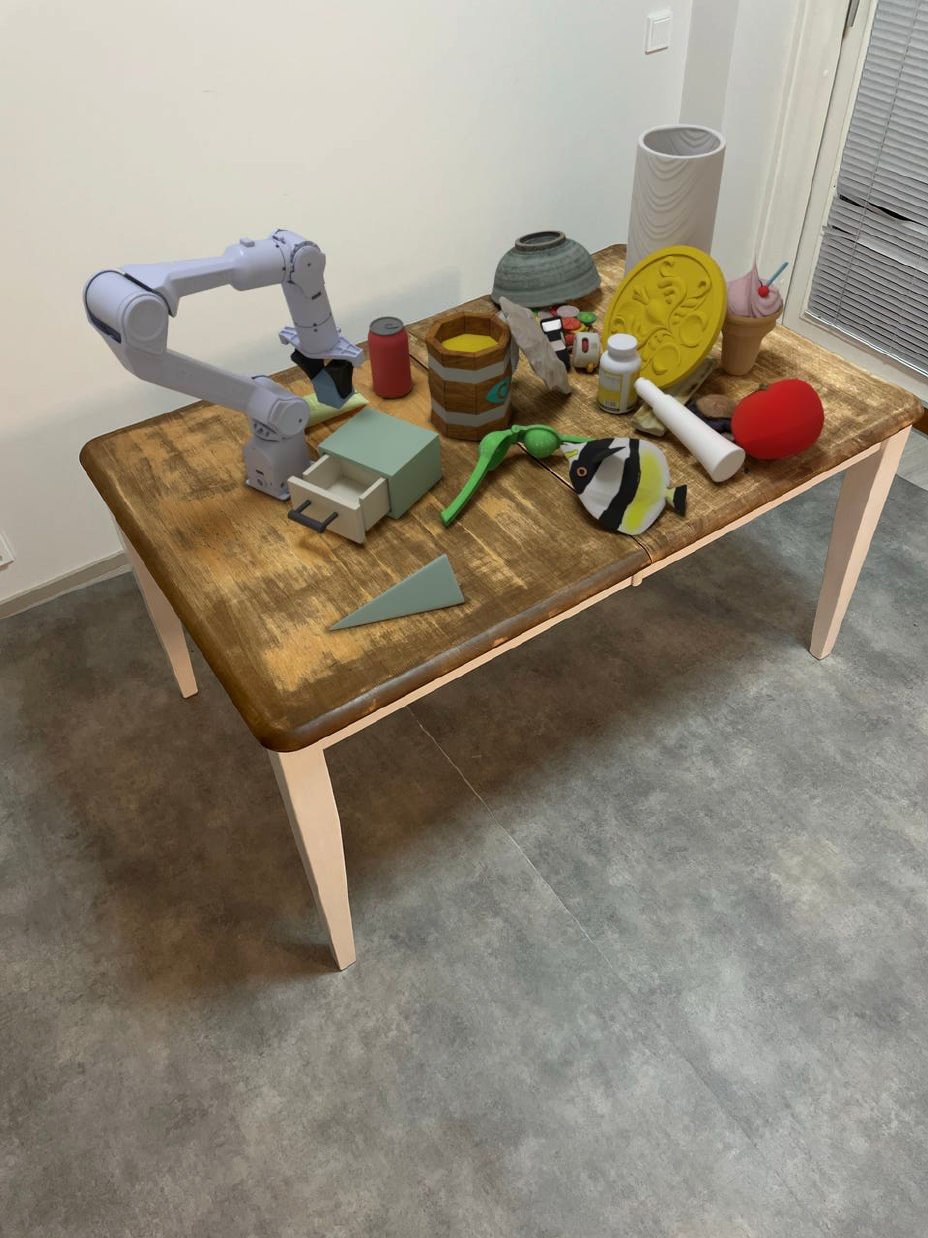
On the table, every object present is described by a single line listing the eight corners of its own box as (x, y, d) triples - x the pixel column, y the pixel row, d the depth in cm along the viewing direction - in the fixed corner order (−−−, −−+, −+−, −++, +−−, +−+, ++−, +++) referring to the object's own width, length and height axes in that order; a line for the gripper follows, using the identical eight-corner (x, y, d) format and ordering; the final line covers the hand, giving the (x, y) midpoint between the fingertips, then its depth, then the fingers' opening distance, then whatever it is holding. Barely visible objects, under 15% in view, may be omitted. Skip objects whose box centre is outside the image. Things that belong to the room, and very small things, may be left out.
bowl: (511, 220, 189) (518, 271, 195) (464, 258, 175) (473, 312, 181) (612, 216, 180) (617, 270, 186) (571, 255, 166) (577, 312, 172)
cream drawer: (341, 561, 135) (335, 527, 130) (275, 530, 140) (267, 496, 135) (404, 502, 143) (401, 468, 138) (339, 475, 148) (333, 441, 143)
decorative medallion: (648, 420, 158) (640, 417, 157) (585, 332, 170) (577, 328, 169) (754, 305, 146) (747, 301, 144) (678, 219, 158) (671, 214, 157)
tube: (260, 453, 156) (361, 412, 164) (267, 443, 151) (371, 401, 160) (243, 421, 155) (346, 382, 164) (250, 410, 151) (355, 370, 159)
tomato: (848, 441, 140) (826, 364, 137) (758, 476, 140) (734, 401, 138) (814, 436, 152) (793, 365, 149) (731, 468, 152) (709, 399, 150)
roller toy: (595, 355, 170) (600, 325, 166) (600, 375, 165) (605, 344, 161) (570, 355, 170) (574, 324, 165) (574, 374, 165) (578, 344, 161)
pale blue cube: (339, 409, 147) (332, 387, 144) (318, 402, 149) (311, 380, 146) (355, 392, 149) (349, 370, 146) (334, 385, 151) (327, 364, 147)
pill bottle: (637, 393, 161) (644, 331, 153) (635, 416, 157) (643, 353, 148) (597, 391, 162) (602, 328, 153) (595, 414, 158) (600, 351, 149)
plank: (685, 361, 167) (687, 347, 165) (717, 370, 165) (720, 356, 163) (628, 432, 154) (629, 418, 152) (662, 443, 152) (664, 429, 150)
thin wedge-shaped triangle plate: (353, 665, 122) (471, 593, 125) (327, 623, 123) (444, 552, 126) (354, 673, 130) (465, 605, 133) (329, 633, 131) (440, 566, 134)
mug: (480, 451, 152) (477, 367, 141) (413, 422, 157) (406, 340, 147) (550, 392, 162) (553, 309, 151) (485, 367, 168) (483, 286, 157)
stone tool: (590, 414, 159) (519, 330, 139) (568, 424, 160) (495, 343, 140) (576, 358, 164) (506, 269, 144) (555, 368, 166) (483, 282, 145)
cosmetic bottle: (743, 441, 140) (650, 359, 151) (710, 467, 140) (620, 383, 152) (747, 464, 145) (657, 382, 156) (715, 489, 145) (627, 405, 157)
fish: (576, 400, 134) (559, 498, 130) (709, 434, 136) (697, 532, 132) (554, 438, 146) (538, 529, 142) (677, 468, 148) (664, 559, 144)
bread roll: (673, 421, 155) (675, 401, 153) (700, 396, 160) (703, 377, 157) (732, 445, 150) (736, 425, 148) (759, 419, 155) (763, 399, 152)
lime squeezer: (446, 528, 140) (443, 494, 135) (413, 482, 147) (410, 448, 142) (645, 461, 148) (649, 427, 144) (605, 421, 156) (608, 387, 151)
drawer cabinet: (396, 519, 141) (391, 476, 136) (325, 488, 147) (317, 445, 141) (442, 477, 148) (439, 433, 142) (371, 448, 153) (366, 405, 147)
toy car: (572, 371, 166) (571, 364, 164) (549, 376, 167) (548, 369, 164) (562, 320, 169) (561, 311, 166) (539, 324, 169) (538, 317, 167)
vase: (657, 292, 183) (678, 115, 160) (716, 321, 175) (747, 139, 152) (603, 319, 177) (617, 139, 154) (662, 350, 169) (685, 166, 146)
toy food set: (505, 340, 174) (504, 323, 171) (544, 308, 181) (544, 291, 178) (568, 362, 168) (569, 345, 166) (607, 328, 175) (608, 311, 173)
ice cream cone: (767, 352, 168) (791, 240, 153) (770, 388, 161) (796, 274, 146) (703, 349, 169) (721, 238, 155) (703, 384, 162) (722, 271, 147)
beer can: (411, 399, 162) (405, 335, 154) (372, 400, 163) (364, 336, 154) (413, 377, 167) (407, 313, 158) (375, 378, 167) (367, 314, 158)
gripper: (368, 310, 136) (387, 387, 147) (290, 288, 142) (314, 363, 153) (339, 339, 133) (360, 416, 143) (260, 315, 139) (286, 390, 149)
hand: (334, 390), depth 148 cm, fingers closed on pale blue cube, 4 cm apart
